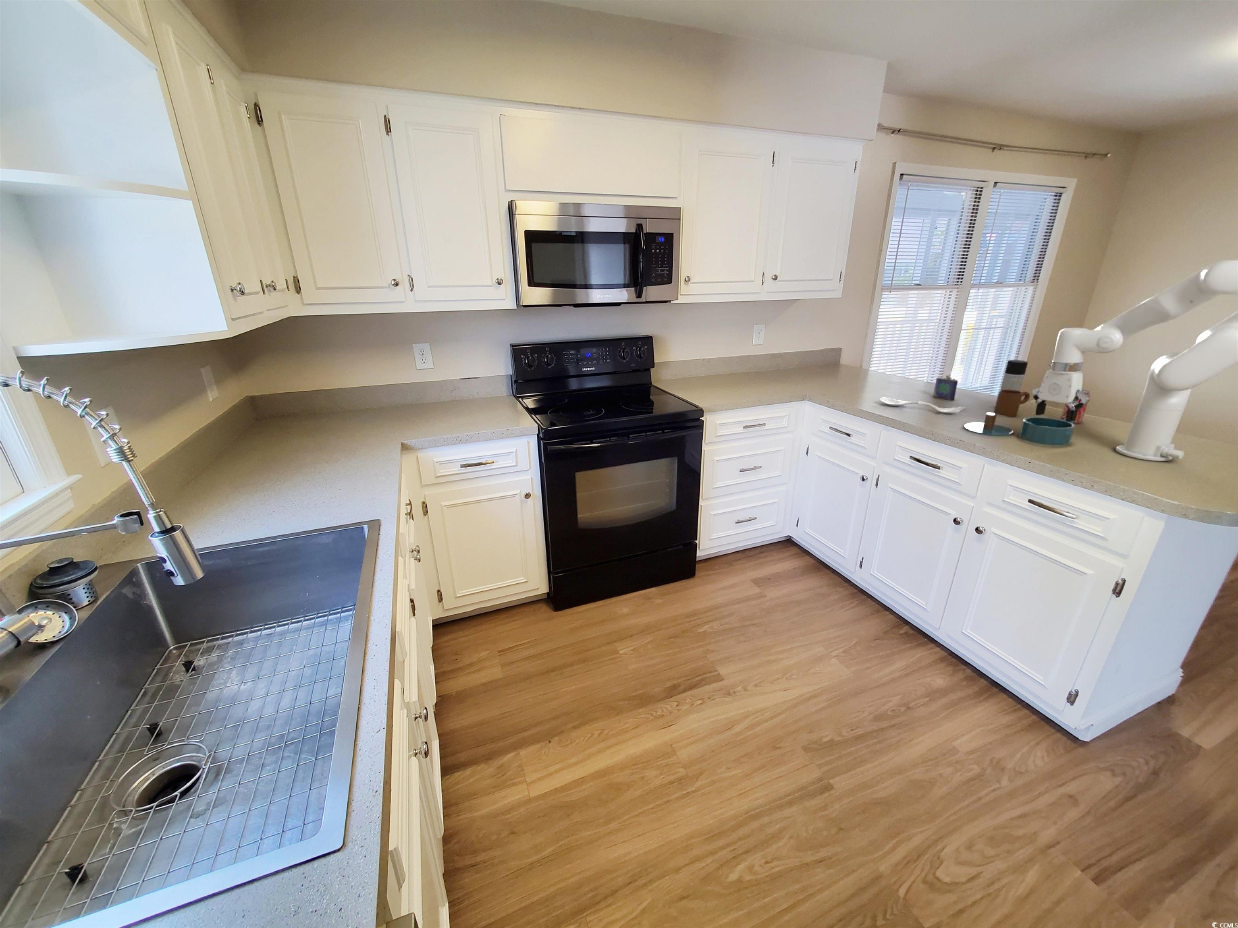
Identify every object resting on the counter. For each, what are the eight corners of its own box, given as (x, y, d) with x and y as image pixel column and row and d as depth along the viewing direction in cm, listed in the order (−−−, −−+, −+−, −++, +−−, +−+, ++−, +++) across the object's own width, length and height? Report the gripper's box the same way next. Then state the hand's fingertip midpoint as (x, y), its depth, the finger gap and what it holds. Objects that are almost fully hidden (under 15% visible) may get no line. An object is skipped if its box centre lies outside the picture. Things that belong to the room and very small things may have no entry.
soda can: (1079, 424, 185) (1089, 393, 180) (1058, 421, 189) (1067, 390, 185) (1083, 421, 188) (1093, 390, 184) (1062, 418, 193) (1071, 387, 189)
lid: (1022, 435, 176) (1027, 417, 174) (990, 439, 173) (994, 421, 170) (984, 424, 189) (989, 407, 187) (953, 428, 186) (957, 411, 184)
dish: (1079, 444, 166) (1085, 425, 163) (1048, 449, 162) (1054, 430, 160) (1038, 432, 178) (1043, 415, 175) (1008, 436, 175) (1013, 419, 172)
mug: (1016, 411, 204) (1022, 388, 200) (1032, 416, 197) (1038, 393, 193) (988, 412, 203) (994, 390, 200) (1003, 417, 196) (1009, 394, 193)
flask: (931, 396, 230) (936, 374, 226) (935, 395, 231) (940, 373, 227) (952, 400, 222) (957, 377, 218) (955, 399, 223) (961, 376, 220)
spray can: (1010, 406, 210) (1023, 359, 202) (1018, 411, 204) (1031, 362, 196) (992, 406, 212) (1004, 359, 204) (999, 410, 205) (1011, 362, 198)
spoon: (956, 418, 197) (958, 410, 196) (874, 405, 220) (876, 397, 219) (964, 414, 202) (966, 406, 201) (883, 401, 225) (885, 393, 224)
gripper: (1030, 365, 168) (1020, 413, 174) (1087, 372, 152) (1074, 425, 158) (1047, 362, 169) (1036, 411, 175) (1105, 369, 154) (1091, 422, 159)
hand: (1054, 417), depth 166 cm, fingers open, 9 cm apart
